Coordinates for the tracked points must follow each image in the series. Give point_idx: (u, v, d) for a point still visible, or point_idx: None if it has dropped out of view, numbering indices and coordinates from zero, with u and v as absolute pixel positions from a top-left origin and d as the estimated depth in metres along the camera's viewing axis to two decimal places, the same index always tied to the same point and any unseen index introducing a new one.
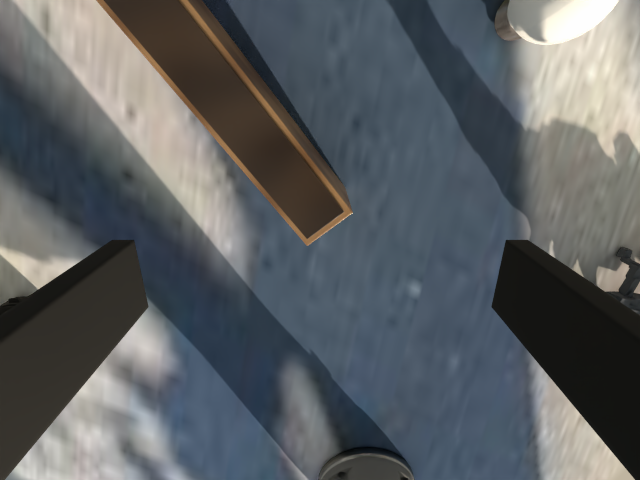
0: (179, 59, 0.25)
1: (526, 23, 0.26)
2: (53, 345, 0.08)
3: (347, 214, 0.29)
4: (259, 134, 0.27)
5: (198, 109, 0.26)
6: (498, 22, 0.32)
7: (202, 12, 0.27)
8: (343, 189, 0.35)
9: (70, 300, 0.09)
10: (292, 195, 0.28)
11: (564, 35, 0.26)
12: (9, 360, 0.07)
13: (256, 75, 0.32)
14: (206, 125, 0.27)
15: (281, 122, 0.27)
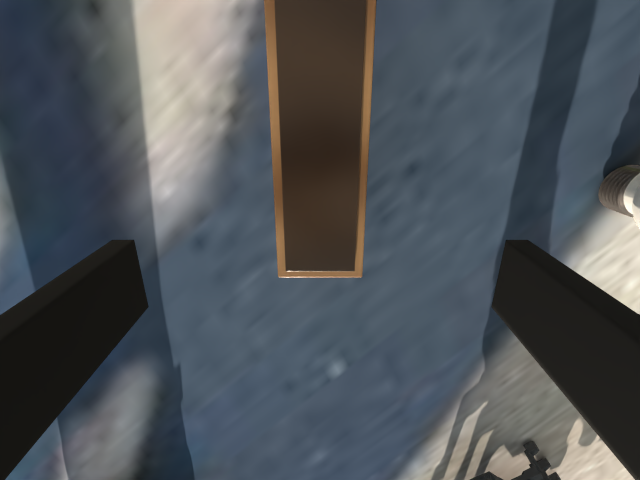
0: None
1: None
2: (53, 345, 0.08)
3: (354, 275, 0.21)
4: (331, 103, 0.17)
5: (277, 0, 0.15)
6: (610, 181, 0.27)
7: None
8: None
9: (70, 300, 0.09)
10: (310, 209, 0.19)
11: None
12: (9, 360, 0.07)
13: None
14: (269, 31, 0.16)
15: (368, 111, 0.17)
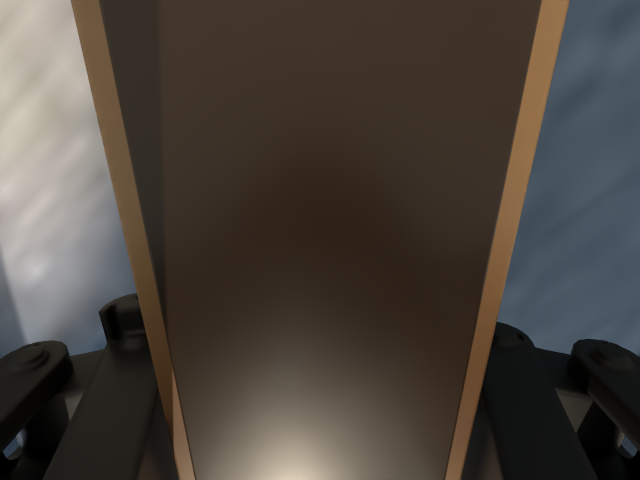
0: None
1: None
2: None
3: None
4: (375, 111, 0.03)
5: None
6: None
7: None
8: None
9: None
10: (287, 472, 0.05)
11: None
12: None
13: None
14: None
15: (529, 144, 0.04)
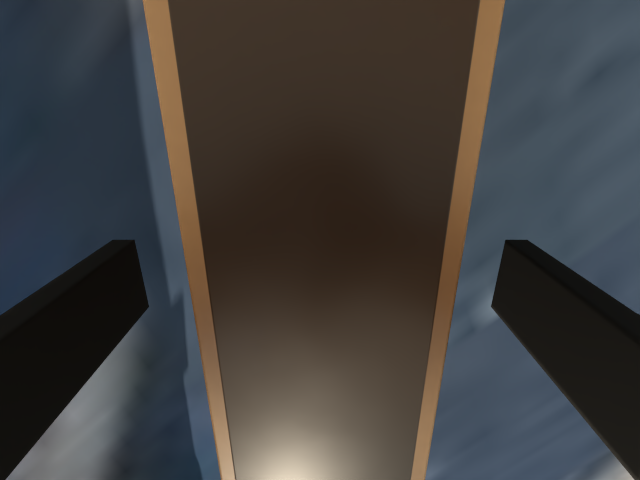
0: None
1: None
2: (54, 345, 0.08)
3: None
4: (363, 70, 0.05)
5: None
6: None
7: None
8: None
9: (71, 300, 0.09)
10: (296, 374, 0.07)
11: None
12: (10, 360, 0.07)
13: None
14: None
15: (483, 98, 0.05)
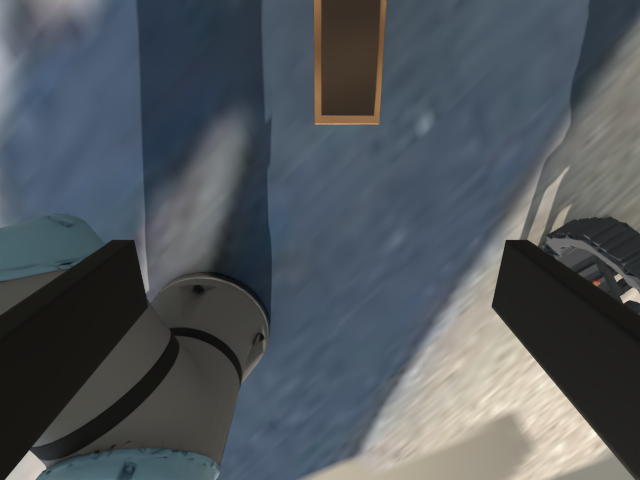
0: None
1: None
2: (53, 345, 0.08)
3: (373, 122, 0.27)
4: None
5: None
6: None
7: None
8: None
9: (70, 300, 0.09)
10: (342, 60, 0.25)
11: None
12: (9, 360, 0.07)
13: None
14: None
15: None
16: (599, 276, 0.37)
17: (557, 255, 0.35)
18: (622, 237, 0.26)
